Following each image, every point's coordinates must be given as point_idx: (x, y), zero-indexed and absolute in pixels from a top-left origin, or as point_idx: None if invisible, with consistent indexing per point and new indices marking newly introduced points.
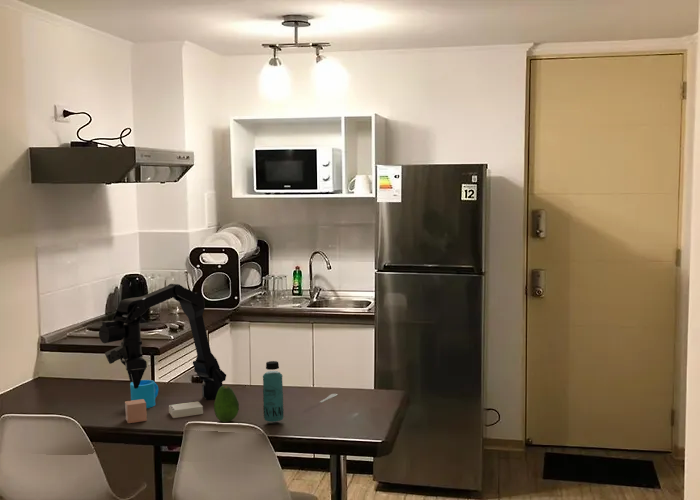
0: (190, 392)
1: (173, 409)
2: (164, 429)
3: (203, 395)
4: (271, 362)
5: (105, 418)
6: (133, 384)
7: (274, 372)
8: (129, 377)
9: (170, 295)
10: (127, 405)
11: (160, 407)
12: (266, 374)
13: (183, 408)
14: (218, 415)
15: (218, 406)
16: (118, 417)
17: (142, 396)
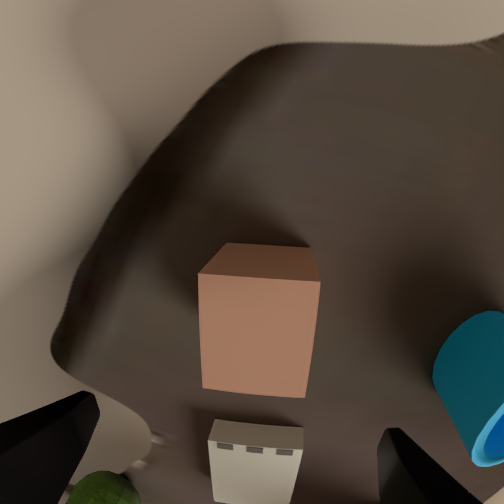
0: (470, 478)
1: (220, 446)
2: (87, 348)
3: None
4: None
5: (395, 152)
6: (58, 406)
7: None
8: (401, 462)
9: None
10: (198, 275)
11: (401, 412)
12: None
13: (219, 468)
14: (89, 476)
15: (74, 492)
16: (376, 219)
17: (461, 387)
